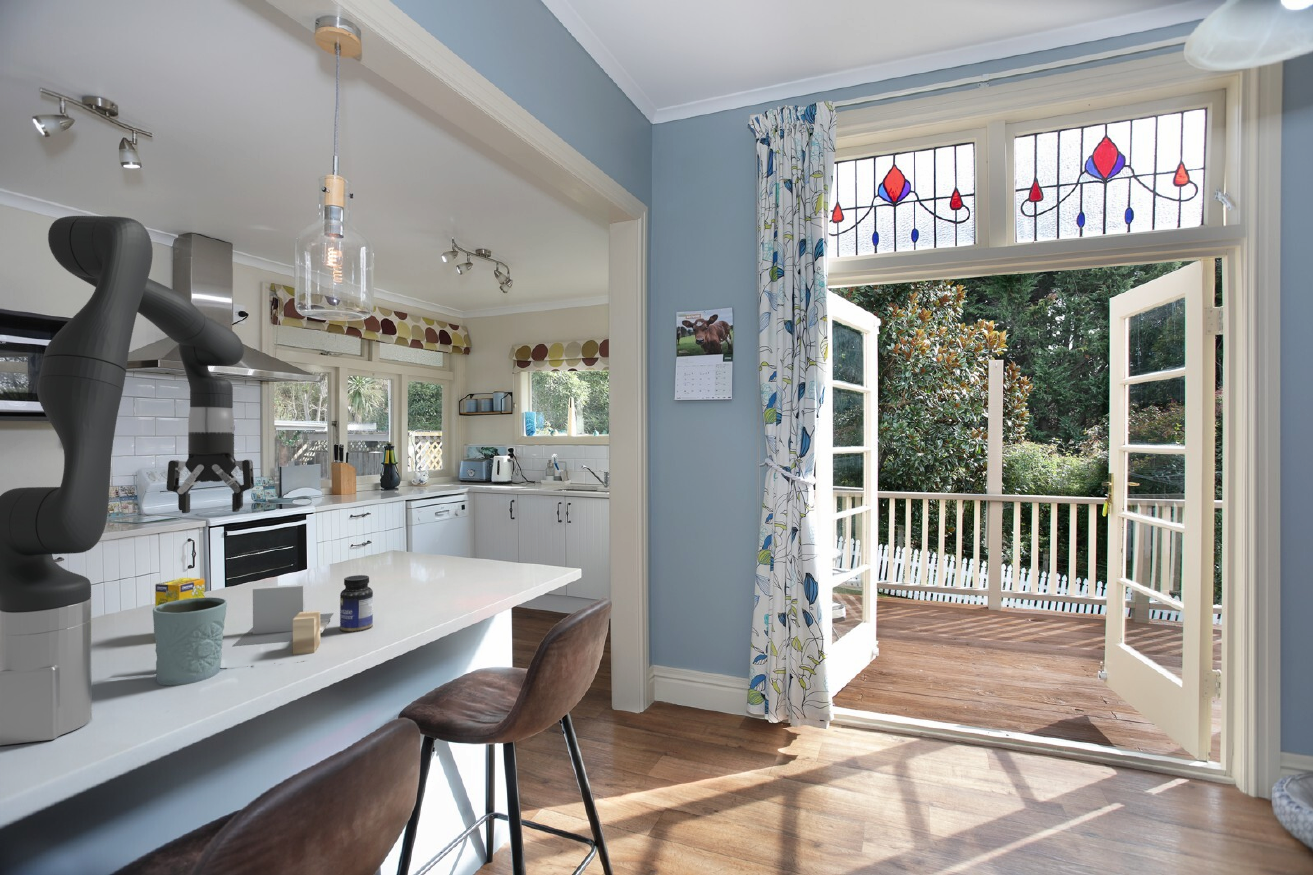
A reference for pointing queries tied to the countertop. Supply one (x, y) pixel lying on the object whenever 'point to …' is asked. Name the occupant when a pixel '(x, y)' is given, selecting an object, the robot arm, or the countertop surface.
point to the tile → (277, 607)
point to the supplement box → (179, 590)
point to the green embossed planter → (188, 639)
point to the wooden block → (307, 632)
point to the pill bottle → (356, 605)
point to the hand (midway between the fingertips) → (211, 512)
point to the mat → (270, 636)
